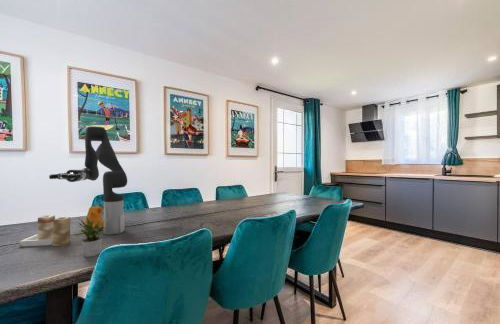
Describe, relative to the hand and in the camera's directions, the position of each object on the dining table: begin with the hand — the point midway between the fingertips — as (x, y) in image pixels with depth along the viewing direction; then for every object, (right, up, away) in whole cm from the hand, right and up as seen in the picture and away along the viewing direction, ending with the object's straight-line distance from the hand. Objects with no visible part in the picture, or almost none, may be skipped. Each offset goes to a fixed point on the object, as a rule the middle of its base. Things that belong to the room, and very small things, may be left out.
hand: (59, 176), depth 127 cm
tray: (+6, -30, -15) cm, 34 cm away
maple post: (+6, -29, -15) cm, 34 cm away
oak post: (+17, -30, -20) cm, 40 cm away
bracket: (+14, -30, +10) cm, 35 cm away
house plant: (+38, -30, -31) cm, 57 cm away
